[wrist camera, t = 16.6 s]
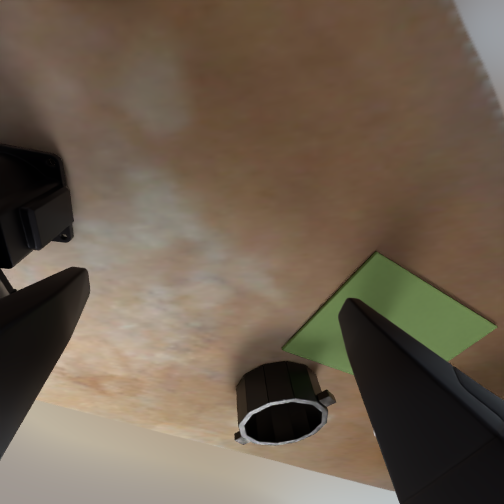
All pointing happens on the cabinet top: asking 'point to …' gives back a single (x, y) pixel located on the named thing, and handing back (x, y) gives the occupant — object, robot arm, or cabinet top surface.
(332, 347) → the cloth
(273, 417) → the pot
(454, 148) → the cabinet top surface
